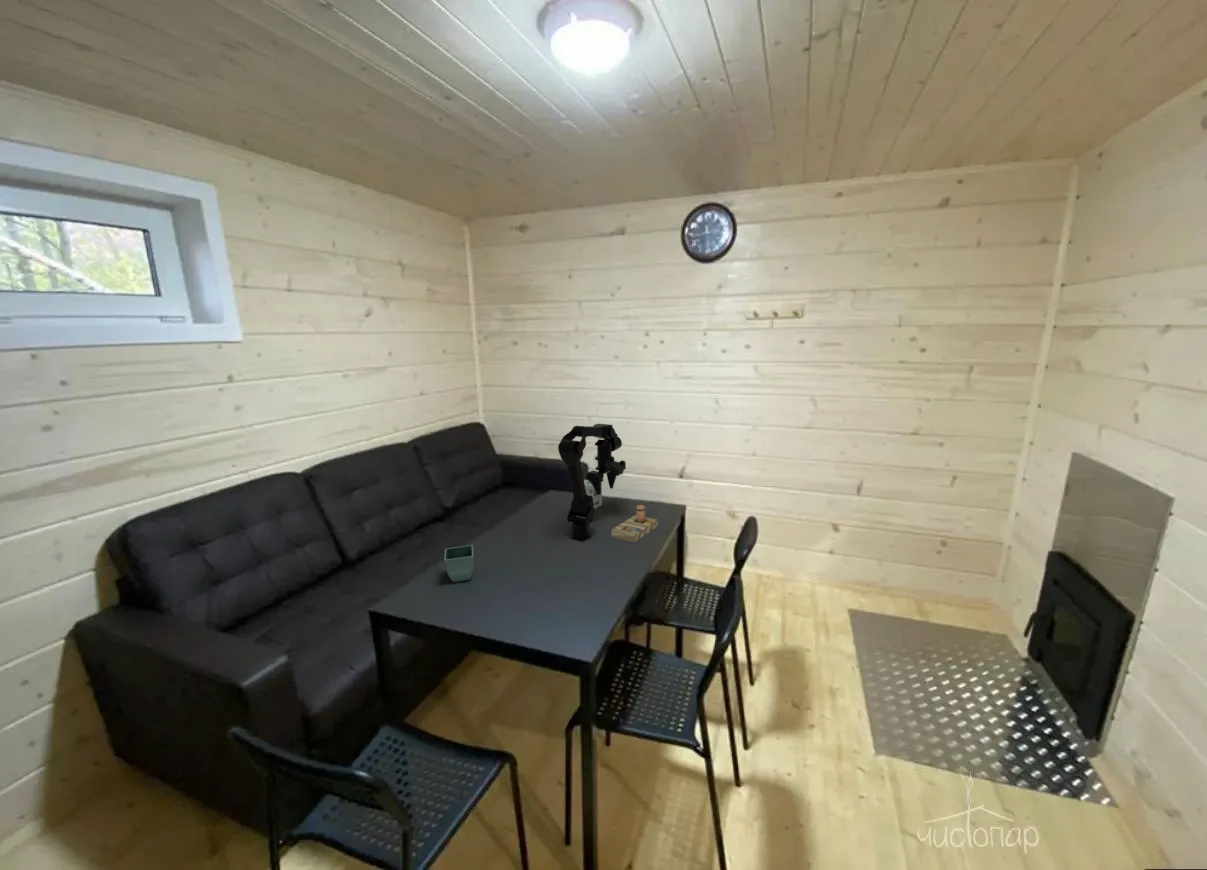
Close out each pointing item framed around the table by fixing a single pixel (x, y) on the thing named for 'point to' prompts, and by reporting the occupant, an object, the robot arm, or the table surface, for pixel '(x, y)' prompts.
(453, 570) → the flower pot
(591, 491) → the light bulb box
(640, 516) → the plug
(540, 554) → the table surface
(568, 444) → the robot arm
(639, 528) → the socket block
